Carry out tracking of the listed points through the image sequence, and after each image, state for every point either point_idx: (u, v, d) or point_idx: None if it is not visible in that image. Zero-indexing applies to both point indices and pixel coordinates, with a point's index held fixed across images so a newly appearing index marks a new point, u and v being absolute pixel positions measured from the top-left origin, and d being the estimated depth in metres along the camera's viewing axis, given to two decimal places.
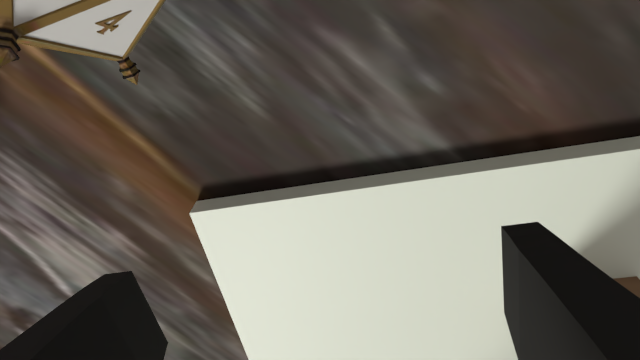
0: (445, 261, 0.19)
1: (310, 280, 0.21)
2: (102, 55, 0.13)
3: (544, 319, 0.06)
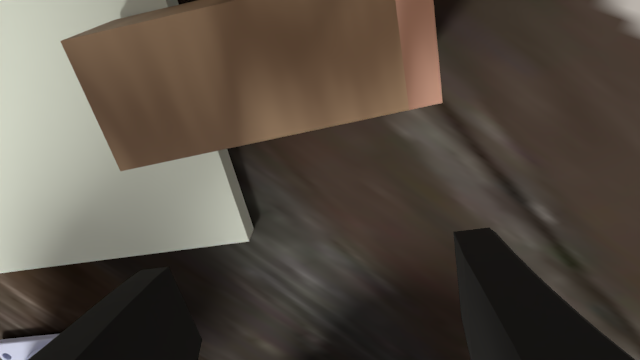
0: None
1: None
2: None
3: (483, 324, 0.06)
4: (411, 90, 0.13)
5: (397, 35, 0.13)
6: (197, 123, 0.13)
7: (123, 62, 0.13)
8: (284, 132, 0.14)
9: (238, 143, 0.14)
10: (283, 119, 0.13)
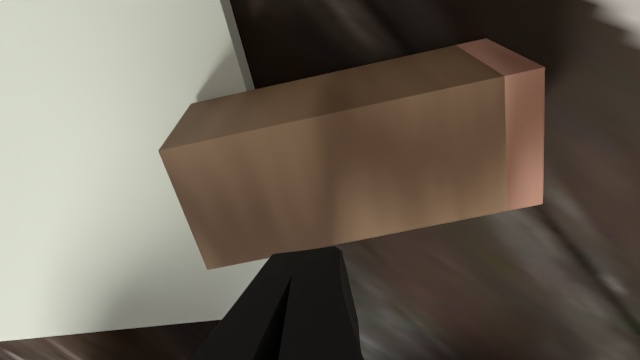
0: None
1: None
2: None
3: None
4: (512, 192, 0.13)
5: (503, 142, 0.12)
6: (290, 225, 0.13)
7: (220, 170, 0.12)
8: (378, 232, 0.13)
9: (330, 243, 0.13)
10: (378, 220, 0.13)
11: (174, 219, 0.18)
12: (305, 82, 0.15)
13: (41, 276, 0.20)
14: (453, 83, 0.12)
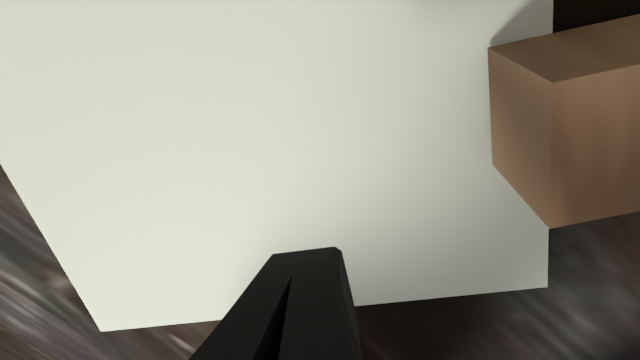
0: (229, 34, 0.14)
1: (68, 77, 0.16)
2: None
3: None
4: None
5: None
6: None
7: (612, 107, 0.11)
8: None
9: None
10: None
11: (421, 184, 0.16)
12: (632, 20, 0.13)
13: (248, 250, 0.19)
14: None
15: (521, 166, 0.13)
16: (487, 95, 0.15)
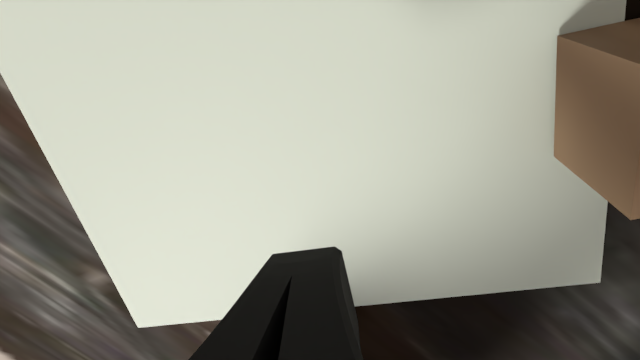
0: (290, 21, 0.14)
1: (120, 66, 0.15)
2: None
3: None
4: None
5: None
6: None
7: None
8: None
9: None
10: None
11: (477, 177, 0.16)
12: None
13: (294, 245, 0.18)
14: None
15: (595, 156, 0.13)
16: (552, 85, 0.14)
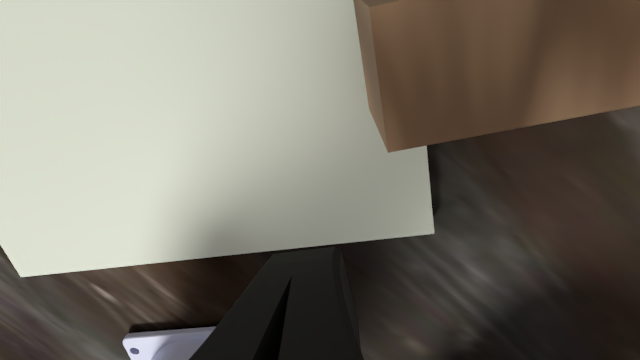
0: None
1: None
2: None
3: None
4: None
5: None
6: (484, 102, 0.12)
7: (427, 33, 0.12)
8: (572, 114, 0.13)
9: (520, 124, 0.13)
10: (576, 99, 0.13)
11: (307, 128, 0.17)
12: None
13: (152, 194, 0.19)
14: None
15: (374, 100, 0.14)
16: None
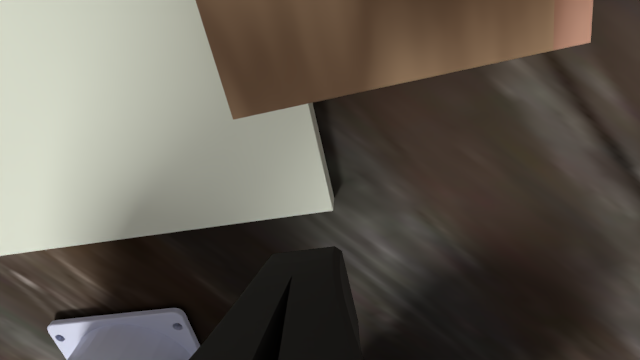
0: None
1: None
2: None
3: None
4: (559, 27, 0.12)
5: None
6: (322, 65, 0.12)
7: None
8: (415, 76, 0.13)
9: (363, 88, 0.13)
10: (416, 60, 0.12)
11: (192, 105, 0.17)
12: None
13: (51, 176, 0.19)
14: None
15: None
16: None
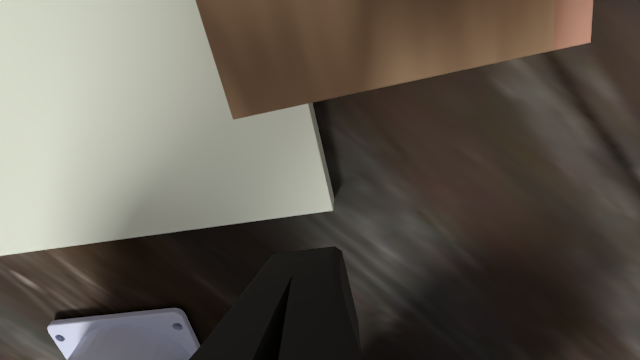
0: None
1: None
2: None
3: None
4: (559, 27, 0.12)
5: None
6: (322, 65, 0.12)
7: None
8: (415, 76, 0.13)
9: (363, 88, 0.13)
10: (416, 60, 0.12)
11: (192, 105, 0.17)
12: None
13: (51, 176, 0.19)
14: None
15: None
16: None
